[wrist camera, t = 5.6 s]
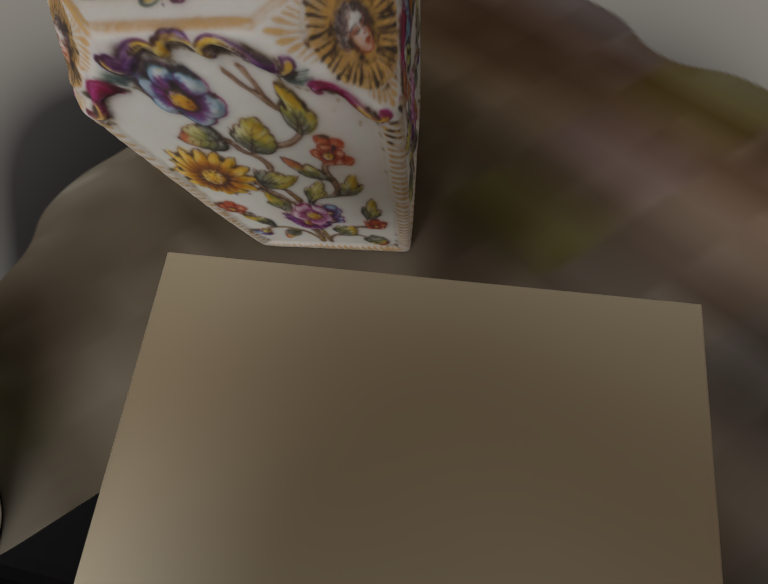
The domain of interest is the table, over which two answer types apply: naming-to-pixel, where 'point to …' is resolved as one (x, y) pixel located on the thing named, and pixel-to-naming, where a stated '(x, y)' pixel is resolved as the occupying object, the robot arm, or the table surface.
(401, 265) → the table surface
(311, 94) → the decorative jar
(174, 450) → the birch block
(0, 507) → the coffee can
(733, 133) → the table surface
